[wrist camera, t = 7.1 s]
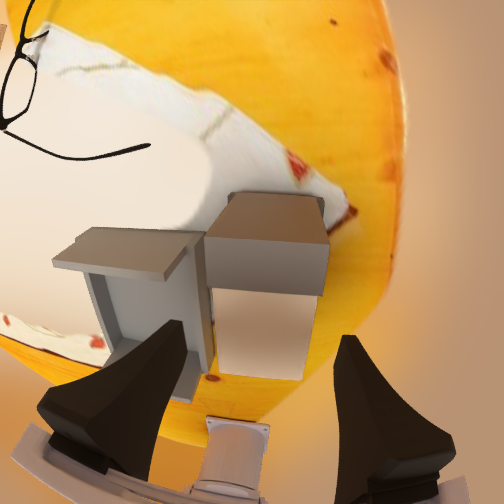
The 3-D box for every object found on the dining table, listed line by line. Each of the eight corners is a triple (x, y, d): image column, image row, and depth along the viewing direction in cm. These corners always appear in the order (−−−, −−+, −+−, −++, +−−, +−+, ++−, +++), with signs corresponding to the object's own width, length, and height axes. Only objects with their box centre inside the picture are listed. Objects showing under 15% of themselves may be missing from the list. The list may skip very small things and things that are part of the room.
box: (303, 306, 20) (304, 383, 14) (238, 300, 21) (216, 374, 14) (315, 196, 17) (330, 244, 10) (237, 192, 17) (203, 236, 11)
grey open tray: (214, 354, 25) (198, 405, 20) (121, 337, 26) (94, 377, 21) (205, 231, 20) (173, 274, 14) (92, 226, 21) (46, 258, 16)
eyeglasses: (72, -23, 11) (46, -33, 7) (224, -31, 11) (210, -58, 8) (22, 130, 18) (-8, 137, 15) (146, 169, 19) (116, 181, 15)
